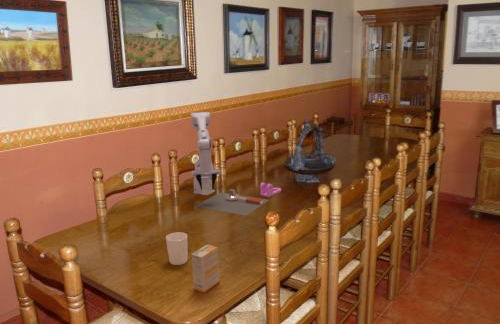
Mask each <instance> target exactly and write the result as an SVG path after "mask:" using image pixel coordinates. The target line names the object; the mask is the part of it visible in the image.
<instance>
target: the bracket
mask: <svg viewBox="0 0 500 324" xmlns="http://www.w3.org/2000/svg"><path fill="white" fill-rule="evenodd" d="M259 188H260V191H259V192H260V196H263V197H268V198H271V197H272V196H274V195H276V194H279V193H282V188H281V187H274V186H273V184H272V183H267V182H261V183H260V187H259Z"/></svg>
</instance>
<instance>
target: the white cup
mask: <svg viewBox="0 0 500 324" xmlns="http://www.w3.org/2000/svg"><path fill="white" fill-rule="evenodd" d="M165 241H166V248H167V249H166V250H167V255H168V259H169V261H168V262H169V263H170V264H171V265H173V266H180V265H184V264H186V263H187V262H188V259H189V258H188V254H189V253H188V251H189V250H188V249H189V247H188V245H189V243H188V234H187V233H185V232H180V231H179V232H178V231H176V232H172V233H168V234H167V235H166V236H165Z"/></svg>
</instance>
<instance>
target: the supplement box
mask: <svg viewBox="0 0 500 324" xmlns="http://www.w3.org/2000/svg"><path fill="white" fill-rule="evenodd" d="M218 253H219V251H218V246H217V247H216V246H213V245H210V244H206V245H204V246H202V247H201V248H199V249H197V250H195V251H194V252H192V253H190V255H191V265H192V278H193V289H194V290H196V291H198V292H201V293H206V292H207V291H209V290H211V289H212V288H213V287H215V286H216V285H218V284H219V283H220V269H219V268H220V267H219V254H218Z"/></svg>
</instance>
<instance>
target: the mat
mask: <svg viewBox="0 0 500 324" xmlns="http://www.w3.org/2000/svg"><path fill="white" fill-rule="evenodd" d="M227 194H229V192H228V193H226V192H221V191H220V192H219V193H216V194H215V195H212V196H210V197H209V198H207V199H205V200H203V201H201V202H200V203H197V204H196V205H194V207H195V208H201V209H206V210H207V209H208V210H211V211H217V212H223V213H229V214H235V215H240V216H248V215H249V214H251V213H252V212H254V211H255V210H257V209H258V208H260V207H261V206H263V205H265V204H266V203H267V202H269V200H270V199H267V198H266V199H265V198H262V199H263V204H261V205H256V204H250V203H245V202H239V201H233V202H230V201H226V195H227ZM238 195H239V197H245V198H249V197H250V198H256V199H261V198H260V197H259V198H258V197H253V196H248V195H240V194H238Z"/></svg>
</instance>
